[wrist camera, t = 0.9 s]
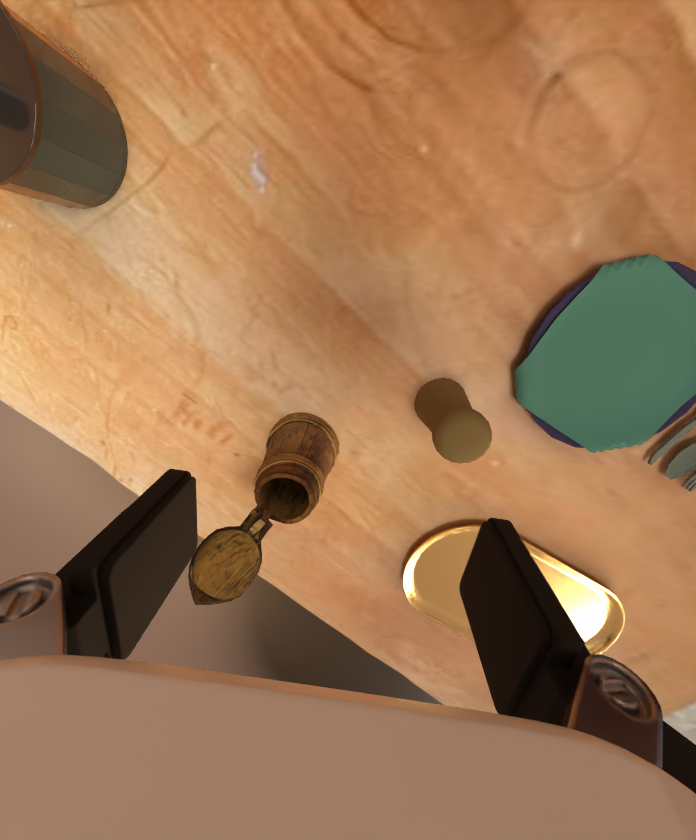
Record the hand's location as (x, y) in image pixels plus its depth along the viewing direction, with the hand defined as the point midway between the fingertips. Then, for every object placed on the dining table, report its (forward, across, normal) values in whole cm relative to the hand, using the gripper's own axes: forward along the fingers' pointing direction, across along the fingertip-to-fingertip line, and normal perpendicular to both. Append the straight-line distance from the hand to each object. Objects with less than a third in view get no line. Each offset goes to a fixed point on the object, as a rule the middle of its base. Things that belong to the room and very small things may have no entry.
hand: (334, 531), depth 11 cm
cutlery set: (+29, -32, -2) cm, 43 cm away
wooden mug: (+29, +6, +14) cm, 33 cm away
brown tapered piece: (+29, -11, +4) cm, 31 cm away
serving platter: (+29, -28, +32) cm, 51 cm away
